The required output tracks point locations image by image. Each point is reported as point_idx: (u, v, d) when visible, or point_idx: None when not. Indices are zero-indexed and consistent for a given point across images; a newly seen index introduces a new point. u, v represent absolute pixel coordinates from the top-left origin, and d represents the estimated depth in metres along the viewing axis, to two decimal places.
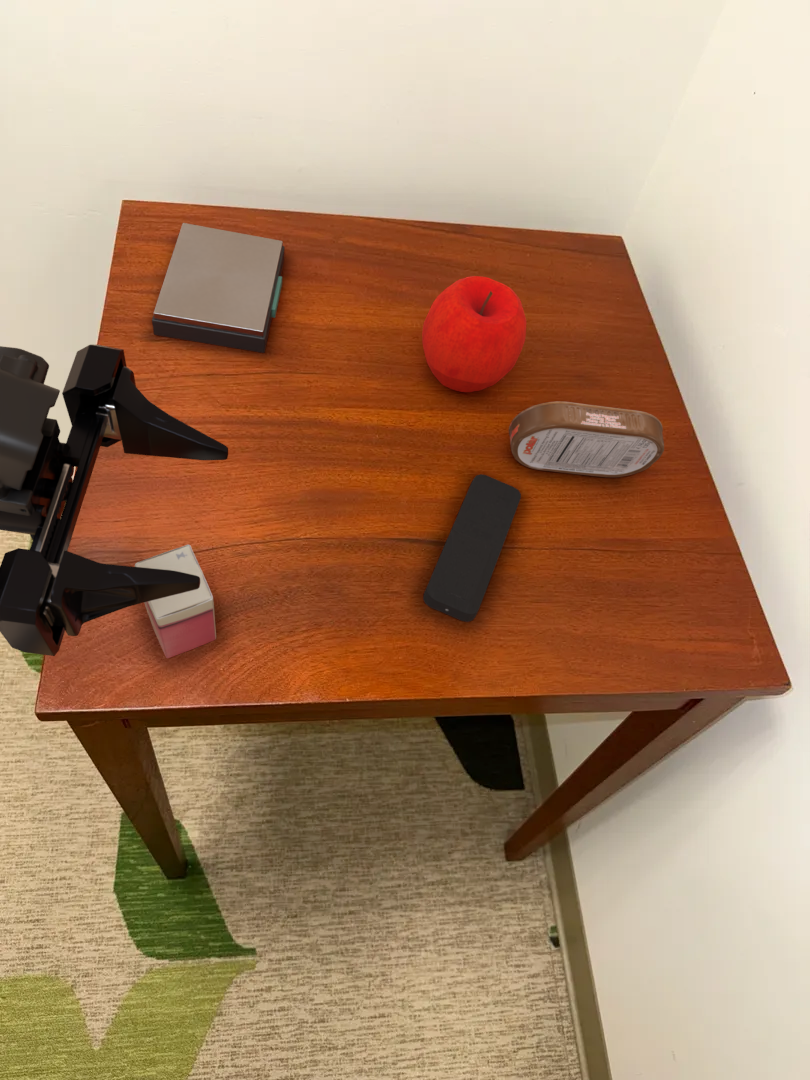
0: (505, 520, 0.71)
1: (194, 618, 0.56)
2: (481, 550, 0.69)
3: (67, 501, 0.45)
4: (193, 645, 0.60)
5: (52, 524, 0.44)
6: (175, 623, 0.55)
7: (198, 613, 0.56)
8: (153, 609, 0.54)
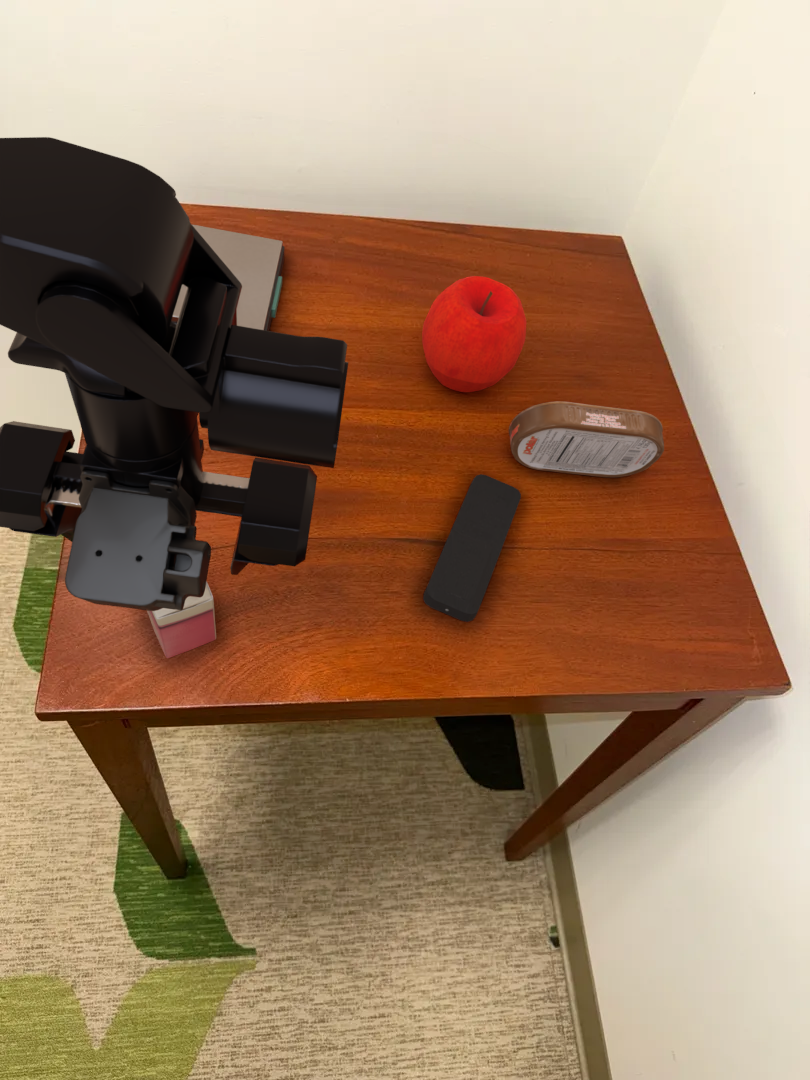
0: (505, 520, 0.71)
1: (194, 618, 0.56)
2: (481, 550, 0.69)
3: None
4: (193, 645, 0.60)
5: None
6: (175, 623, 0.55)
7: (198, 613, 0.56)
8: None
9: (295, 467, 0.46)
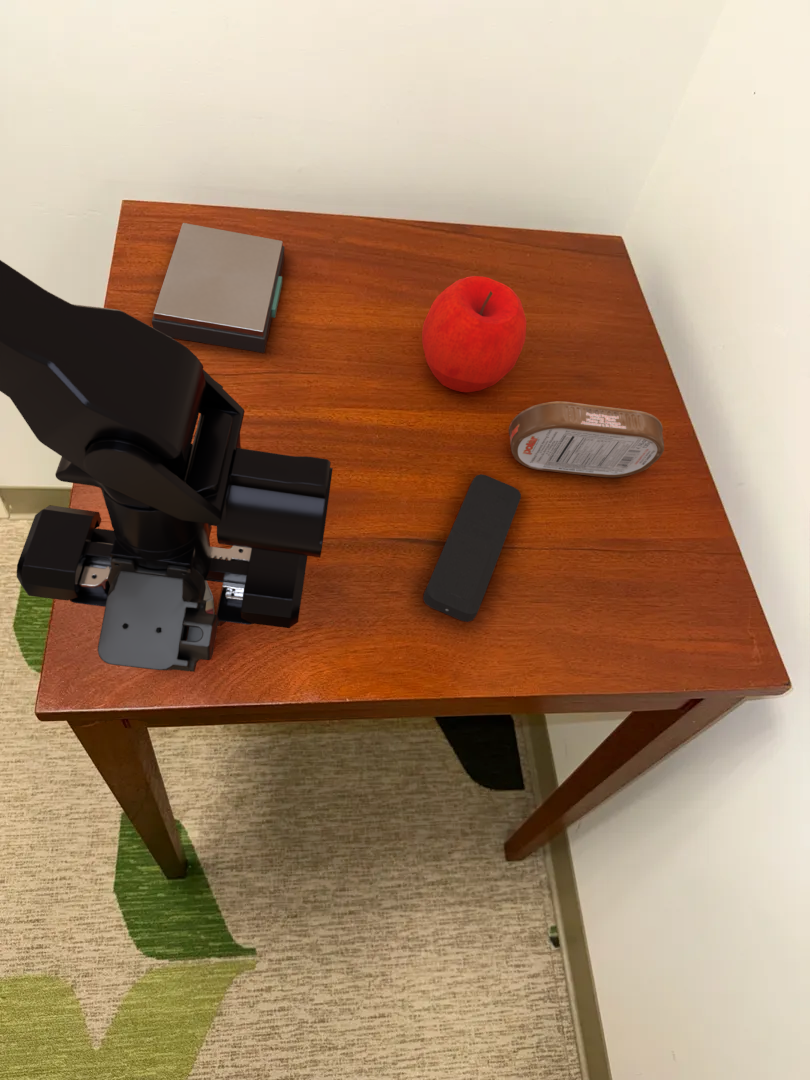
0: (505, 520, 0.71)
1: None
2: (481, 550, 0.69)
3: None
4: None
5: None
6: None
7: None
8: None
9: None
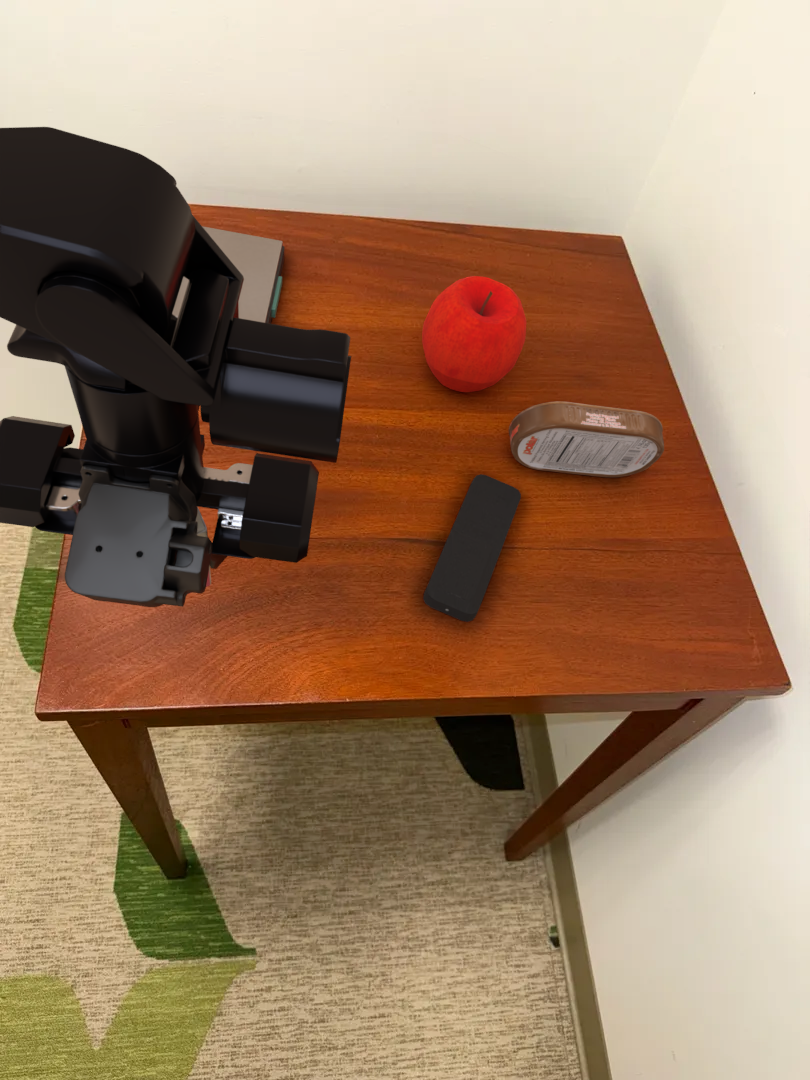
0: (505, 520, 0.71)
1: None
2: (482, 550, 0.68)
3: None
4: None
5: None
6: None
7: None
8: None
9: (297, 463, 0.46)
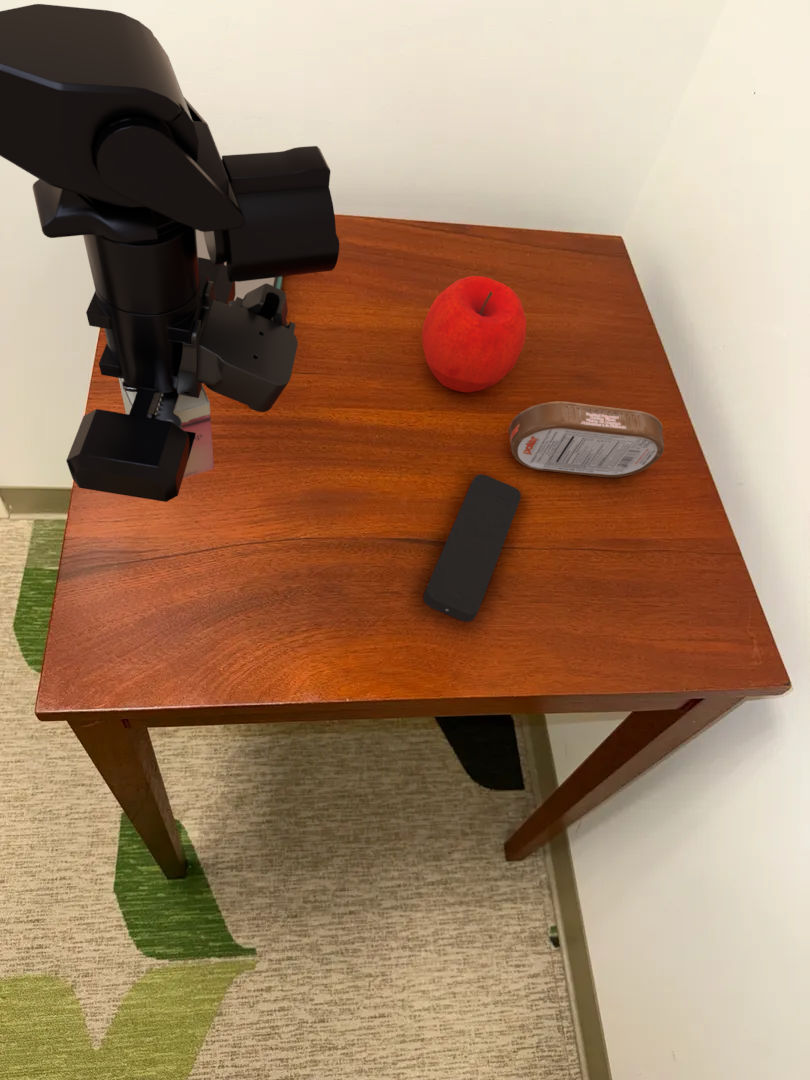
0: (505, 520, 0.71)
1: None
2: (481, 550, 0.69)
3: (158, 395, 0.48)
4: None
5: None
6: None
7: None
8: (197, 405, 0.51)
9: None
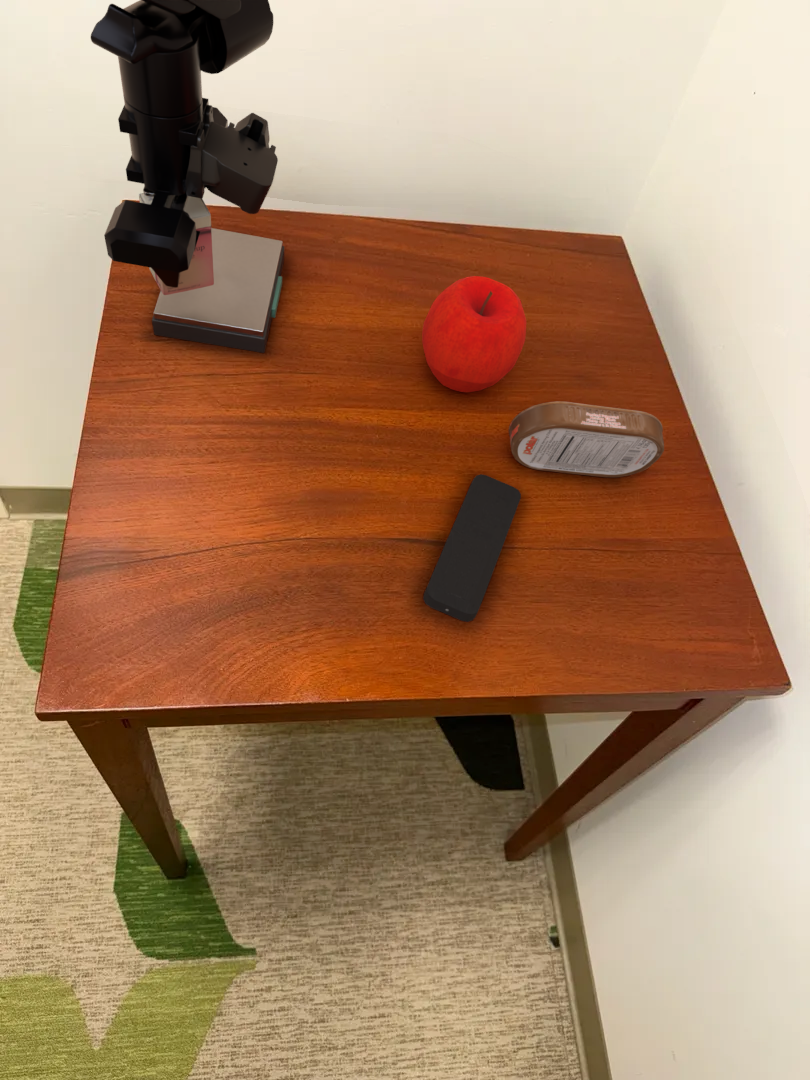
0: (505, 520, 0.71)
1: None
2: (482, 550, 0.69)
3: (170, 200, 0.62)
4: None
5: None
6: None
7: None
8: (201, 216, 0.65)
9: None
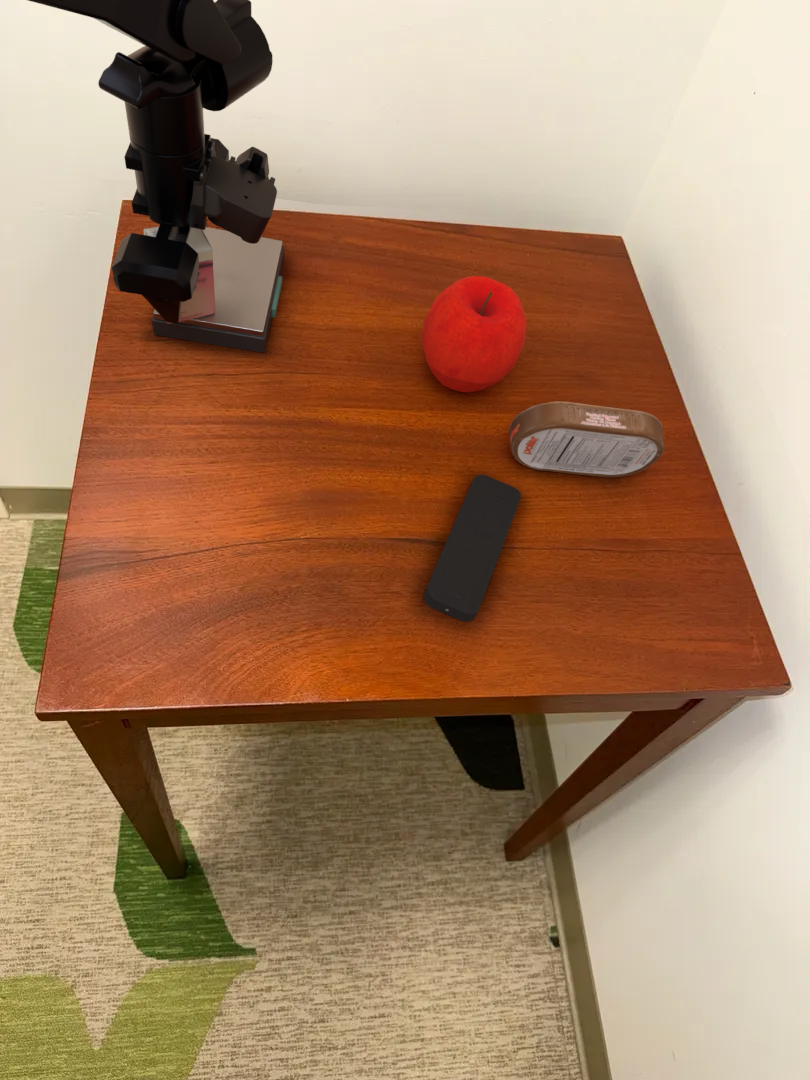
0: (505, 520, 0.71)
1: None
2: (482, 550, 0.68)
3: None
4: None
5: (180, 234, 0.65)
6: None
7: None
8: (203, 250, 0.68)
9: None
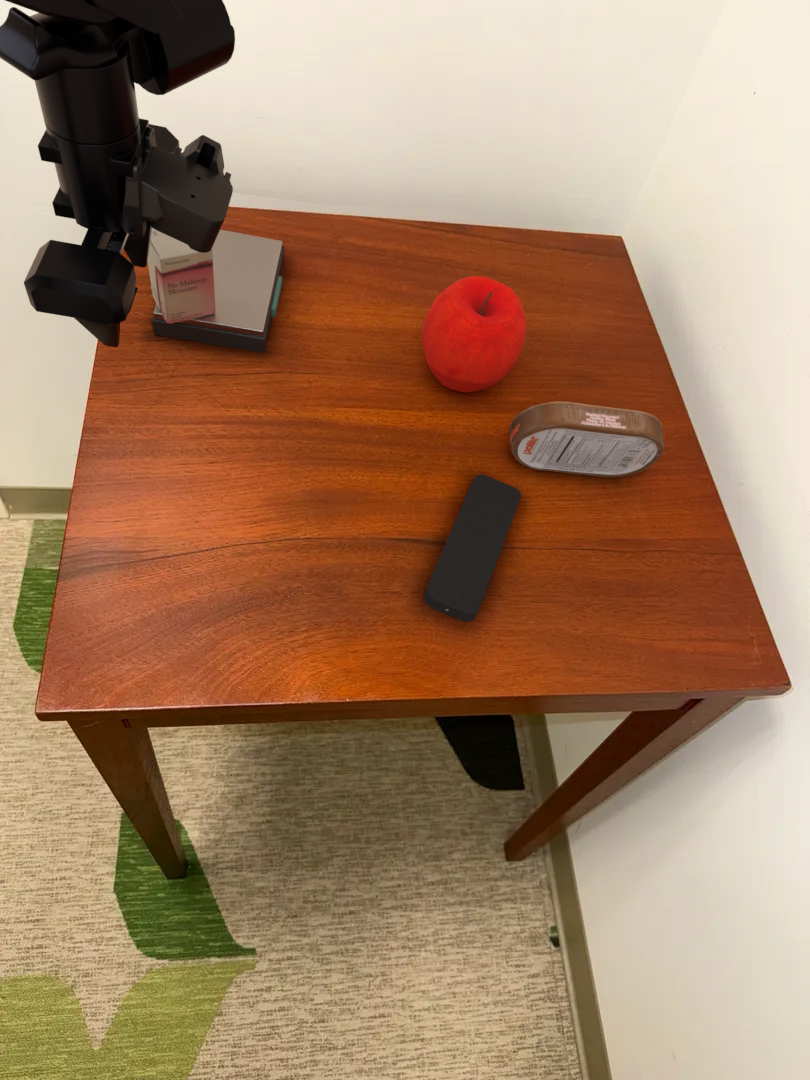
0: (505, 520, 0.71)
1: None
2: (482, 550, 0.69)
3: None
4: None
5: (114, 241, 0.53)
6: None
7: None
8: None
9: None
